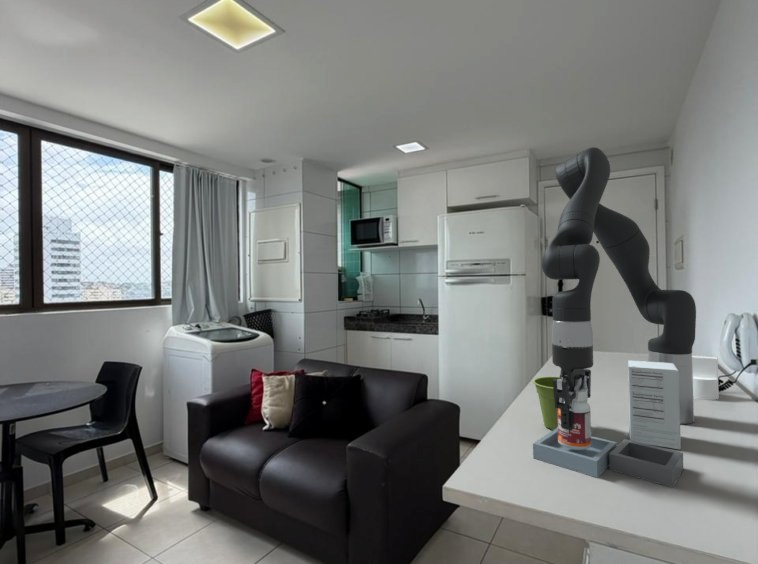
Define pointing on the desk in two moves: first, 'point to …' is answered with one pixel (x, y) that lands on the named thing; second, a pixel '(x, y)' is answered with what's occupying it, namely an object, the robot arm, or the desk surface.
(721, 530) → the desk surface
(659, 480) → the gray hollow square frame
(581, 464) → the parts tray
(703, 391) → the cylinder with rectangular tab
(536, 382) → the plant pot
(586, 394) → the pill bottle
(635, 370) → the supplement box
